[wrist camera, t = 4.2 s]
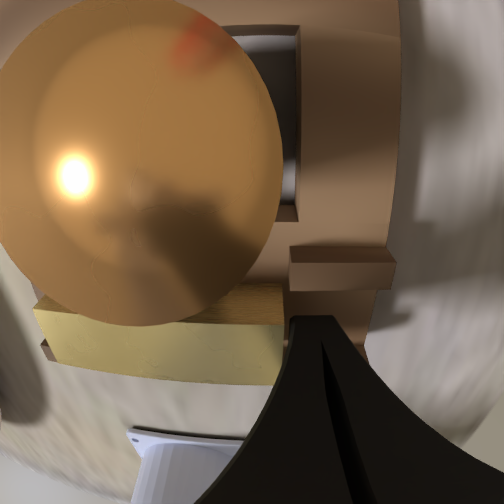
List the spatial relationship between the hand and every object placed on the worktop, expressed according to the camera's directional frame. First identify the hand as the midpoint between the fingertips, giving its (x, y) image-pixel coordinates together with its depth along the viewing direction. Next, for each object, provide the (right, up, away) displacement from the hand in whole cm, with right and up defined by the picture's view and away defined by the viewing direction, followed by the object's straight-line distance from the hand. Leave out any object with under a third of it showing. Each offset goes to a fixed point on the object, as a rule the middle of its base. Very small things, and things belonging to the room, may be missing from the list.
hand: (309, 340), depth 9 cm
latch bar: (-5, +2, +1) cm, 5 cm away
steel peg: (-3, +7, 0) cm, 7 cm away
